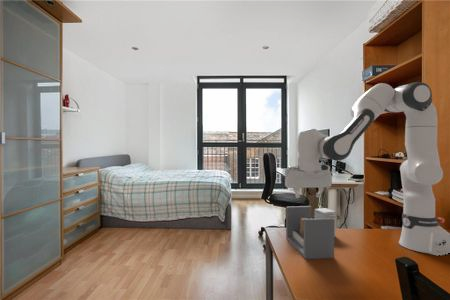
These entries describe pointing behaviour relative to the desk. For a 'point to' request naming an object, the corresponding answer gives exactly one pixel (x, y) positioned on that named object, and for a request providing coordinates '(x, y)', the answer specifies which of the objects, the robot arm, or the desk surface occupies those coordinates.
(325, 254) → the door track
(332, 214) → the supplement box
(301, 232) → the door panel
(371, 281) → the desk surface
